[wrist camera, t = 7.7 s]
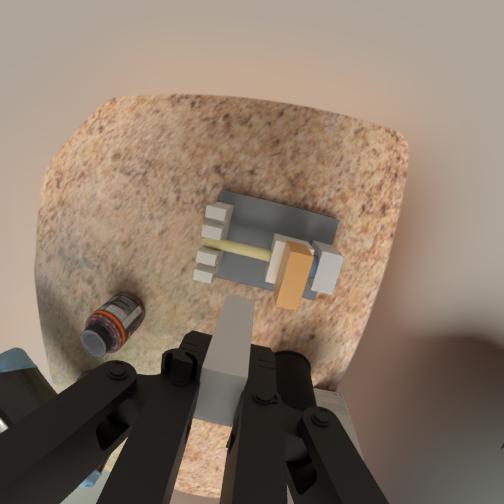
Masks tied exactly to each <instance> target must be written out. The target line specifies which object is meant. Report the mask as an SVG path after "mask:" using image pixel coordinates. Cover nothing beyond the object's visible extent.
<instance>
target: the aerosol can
mask: <svg viewBox="0 0 504 504" xmlns="http://www.w3.org/2000/svg"><path fill="white" fill-rule="evenodd" d="M274 355H275V365H276V369H275V370H276V385H277V393H278V394H279V395H280V396H281V399H282V402H283V403H284V404H286V405H287V406H289V407H291V408H294V409H296V410H299V411H302V412H304V411H305V410H306V409H307V408H309V407H313V406H317V404H316V399H315V394H314V389H313V384H312V380H311V375H310V373H311V367H310V363H309V361H308V360H307V359H306V358H305V357H304V356H303V355H301V354H299V353H296V352H292V351H282V352H277V353H274Z"/></svg>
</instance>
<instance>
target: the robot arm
mask: <svg viewBox="0 0 504 504" xmlns="http://www.w3.org/2000/svg"><path fill="white" fill-rule="evenodd" d="M254 301H255V300H253V299H249V298H244V297H240V296H236V295H232V294H228V293H227V295H226V298H225V301H224V304H223V307H222V310H221V313H220V316H219V319H218V322H217V325H216V328H215V331H214V334H213V336H212V335H208V334H205V333H201V332H197V331H193V330H192V331H191V332H189V333H187V334H186V335H185V336H184V338H183V340H182V343H181V344H180V346H179V348H176V349H170V350H167V351H165V352H164V353H163V354H162V363H161V374H158V375H142V374H137V372H136V370H135V369H134V367H133V366H131V365H130V364H129V363H126V362H124V361H118V360H112V361H108V362H105V363H103V364H102V365H100V366H99V367H97V368H96V369H94V370H89V371H85V372H84V373H83V374H82V375H81V376H80V377H79V378H78V379H77V381H76V382H75V383H74V384H73V385H71V386H70V387H68V388H67V389H65V390H64V391H62V392H61V393H59V394H57V393H56V391H55V390H54V389H53V388H52V387H51V386H50V384H49V383H48V382H47V380H46V379H45V378H44V376H43V375H42V374H41V372H40V371H39V369H38V367H37V366H36V365H35V364H34V363H33V361H32V360H31V359H30V358H29V356H28V355H27V353H26V352H25V351H24V350H23V349H21V348H12V349H10V350H8V351H5V352H3V353H1V354H0V504H60V503H61V502H62V501H63V500H64V499H65V498H66V497H67V496H68V495H69V494H71V492H73V491H74V490H75V489H76V488H77V487H81V488H91V487H93V486H94V484H95V483H96V481H97V480H98V478H99V477H100V476H101V474H102V471H103V469H104V467H105V465H106V463H107V461H108V459H109V457H110V455H111V453H112V452H113V451H114V450H115V449H116V448H117V447H118V446H119V445H120V444H121V443H122V442H123V441H124V440H125V439H126V438H127V437H128V438H127V440H126V442H125V444H124V446H123V448H122V450H121V452H120V454H119V457H118V459H117V461H116V463H115V465H114V467H113V469H112V471H111V473H110V475H109V477H108V479H107V481H106V484H105V486H104V488H103V490H102V492H101V494H100V496H99V499H98V501H97V503H96V504H169V503H170V500H171V496H172V493H173V489H174V486H175V482H176V478H177V475H178V471H179V468H180V464H181V461H182V457H183V454H184V450H185V447H186V443H187V440H188V436H189V433H190V429H191V424H192V419H193V418H195V419H199V420H203V421H207V422H211V423H216V424H220V425H225V426H230V427H232V431H231V434H230V437H229V440H228V443H227V445H226V448H228V450H227V457H226V463H225V470H224V477H223V484H222V490H221V497H220V504H287V485H288V488H289V490H290V493H291V496H292V499H293V502H294V504H389V503H388V501H387V499H386V498H385V496H384V494H383V493H382V491H381V489H380V488H379V486H378V484H377V483H376V481H375V480H374V478H373V476H372V474H371V473H370V471H369V469H368V468H367V466H366V465H365V463H364V461H363V459H362V458H361V456H360V454H359V453H358V451H357V449H356V448H355V446H354V444H353V442H352V441H351V439H350V437H349V436H348V434H347V432H346V431H345V429H344V427H343V426H342V424H341V422H340V420H339V419H338V417H337V416H336V415H335V414H334V412H332V411H331V410H329V409H327V408H324V407H320V406H313V407H309V408H307V409H306V410H305V411H304V412H302V411H299V410H296V409H294V408H291V407H289V406H287V405H286V404H284V403H283V402H282V399H281V396H280V395H279V394H278V393H277V385H276V370H275V369H276V365H275V355H274V353H273V352H272V350H271V348H268V347H263V346H258V345H254V344H251V335H252V324H253V312H254ZM232 424H233V426H232Z"/></svg>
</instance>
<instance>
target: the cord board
mask: <svg viewBox="0 0 504 504" xmlns="http://www.w3.org/2000/svg"><path fill="white" fill-rule="evenodd" d="M205 217H207V218H209V221H208V222H206V223H205V224H203V227H202V232H201V236H203V240H202V245H203V246H202V247H201V248H200V249H199V250H198V252H197V258H196V262H198V263H199V264H198V265H197V267H196V268H195V269H194V274H193V280H196V281H200V282H204V283H208V284H211V283H212V281H213V279H214V277H218V278H222V279H226V280H230V281H234V282H238V283H242V284H246V285H250V286H254V287H258V288H263V289H267V290H271V291H274V284H273V283H269V282H265V268H266V265H267V261H269V262H270V258H271V254H272V251H270V249H271V246H272V242H273V238H274V234H275V233H276V234H280V235H283V236H287V237H291V238H295V239H299V240H303V241H307V242H309V244H310V245H311V246H312V248H313V249H314V254H313V256H314V259H313V262H312V266H311V269H310V272H309V275H308V279H307V282H306V285H305V288H304V291H303V294H302V298H306V299H311V300H314V299H315V296H316V293H317V292H322V293H326V294H331V295H332V293H333V290H334V288H335V285H336V282H337V279H338V276H339V273H340V270H341V266H342V263H343V260H344V256H343V255H342V254H341V253H340V252H339V251H338V250H337V249H335V248H334V247H333V246H332V242H333V239H334V235H335V232H336V228H337V225H338V221H339V220H338V219H335V218H332V217H329V216H325V215H321V214H318V213H314V212H311V211H307V210H303V209H299V208H296V207H292V206H288V205H284V204H280V203H276V202H272V201H268V200H264V199H260V198H256V197H252V196H248V195H243V194H239V193H235V192H230V191H226V190H221V192H220V196H219V201H218V202H216V203H213V204H209V205H207V208H206V213H205Z"/></svg>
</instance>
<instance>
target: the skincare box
mask: <svg viewBox="0 0 504 504" xmlns="http://www.w3.org/2000/svg"><path fill="white" fill-rule="evenodd" d="M313 389H314V394H315V399H316V404H317V406H320V407H324V408H327V409H329V410H331V411H332V412H334V414H335V415H336V416H337V417H338V419H339V420H340V422H341V424H342V426H343V427H344V429H345V431H346V432H347V434H348V436H349V437H350V439H351V441H352V442H353V444H354V446H355V448H356V449H357V451H358V453H359V454H360V456H361V458H362V459H363V456H362V453H361V450H360V446H359V443H358V440H357V436H356V433H355V430H354V427H353V423H352V420H351V417H350V414H349V410H348V407H347V404H346V401H345V397H344V395H343V393H338V392H333V391H328V390H322V389H317V388H313ZM363 461H364V459H363Z"/></svg>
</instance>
